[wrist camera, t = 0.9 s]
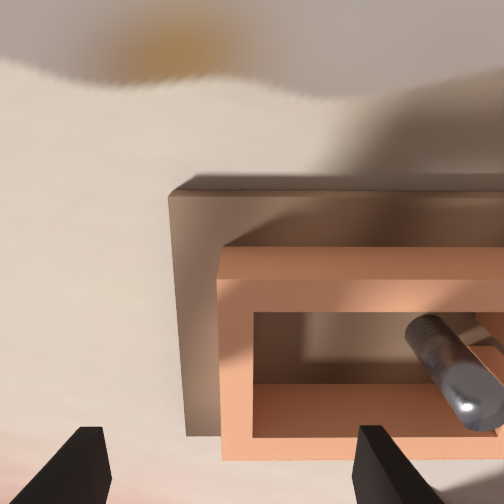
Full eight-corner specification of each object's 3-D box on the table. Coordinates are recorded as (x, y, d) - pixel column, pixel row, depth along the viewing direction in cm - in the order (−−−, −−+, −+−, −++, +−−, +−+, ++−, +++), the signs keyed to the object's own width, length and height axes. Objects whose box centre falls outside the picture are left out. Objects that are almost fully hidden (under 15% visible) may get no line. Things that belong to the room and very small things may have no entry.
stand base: (563, 191, 15) (588, 198, 14) (492, 416, 20) (507, 434, 18) (173, 189, 15) (167, 196, 14) (189, 417, 19) (186, 436, 18)
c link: (522, 247, 15) (586, 279, 12) (476, 403, 18) (519, 459, 15) (222, 246, 15) (216, 279, 12) (226, 404, 18) (222, 460, 15)
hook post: (454, 328, 16) (527, 405, 12) (425, 356, 17) (485, 439, 12) (425, 307, 16) (490, 380, 12) (396, 336, 16) (448, 416, 12)
